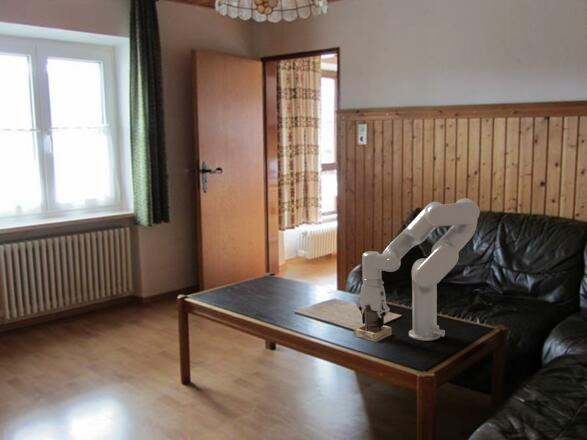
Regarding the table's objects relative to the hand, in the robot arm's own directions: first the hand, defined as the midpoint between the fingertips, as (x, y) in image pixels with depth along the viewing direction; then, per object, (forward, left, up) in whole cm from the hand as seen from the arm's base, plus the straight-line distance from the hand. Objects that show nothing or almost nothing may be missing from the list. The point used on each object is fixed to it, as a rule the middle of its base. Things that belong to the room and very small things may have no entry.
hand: (373, 324), depth 247 cm
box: (0, 0, -3) cm, 3 cm away
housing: (0, 0, -5) cm, 5 cm away
